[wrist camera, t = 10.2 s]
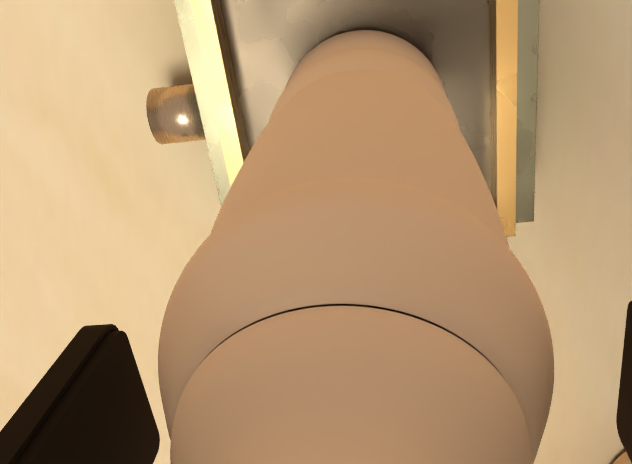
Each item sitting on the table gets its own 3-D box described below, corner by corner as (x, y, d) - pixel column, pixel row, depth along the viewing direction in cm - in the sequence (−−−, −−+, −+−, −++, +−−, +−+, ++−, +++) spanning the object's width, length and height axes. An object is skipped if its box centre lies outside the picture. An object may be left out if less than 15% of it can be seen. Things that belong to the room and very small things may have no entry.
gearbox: (514, -96, 27) (553, -103, 21) (511, 181, 33) (542, 237, 27) (137, -38, 29) (78, -30, 23) (199, 211, 35) (164, 268, 29)
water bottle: (294, 14, 25) (-333, 707, 3) (461, 40, 25) (1212, 975, 3) (277, 170, 28) (-75, 1067, 6) (424, 193, 28) (624, 1192, 6)
